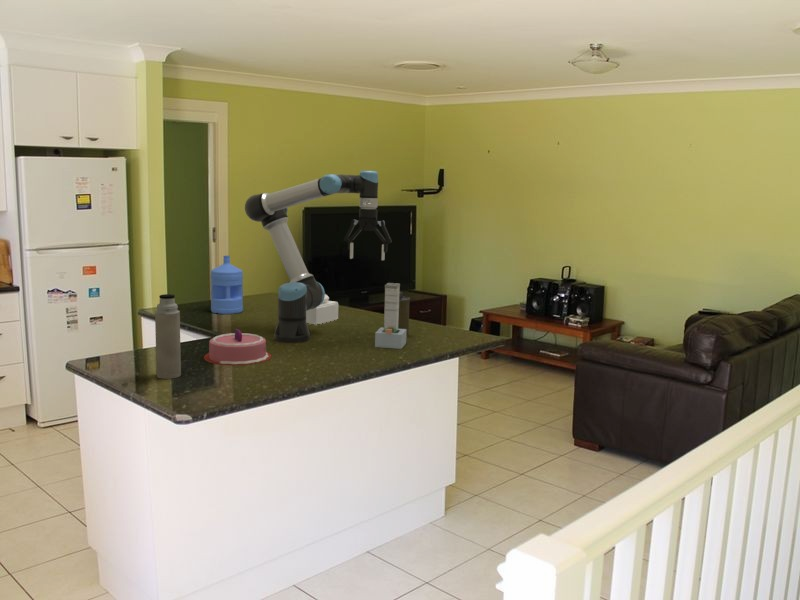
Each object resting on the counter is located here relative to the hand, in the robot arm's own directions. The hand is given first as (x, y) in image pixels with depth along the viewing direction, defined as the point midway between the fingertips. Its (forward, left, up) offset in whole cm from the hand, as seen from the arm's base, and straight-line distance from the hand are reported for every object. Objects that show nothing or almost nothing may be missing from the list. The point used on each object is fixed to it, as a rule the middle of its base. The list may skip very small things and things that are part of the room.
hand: (367, 259), depth 307 cm
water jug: (-80, +40, -35) cm, 96 cm away
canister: (+12, +10, -35) cm, 38 cm away
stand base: (+13, -10, -35) cm, 38 cm away
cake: (-40, -43, -35) cm, 69 cm away
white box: (-34, +34, -35) cm, 59 cm away
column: (+13, -10, -28) cm, 32 cm away
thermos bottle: (-52, -74, -35) cm, 97 cm away
